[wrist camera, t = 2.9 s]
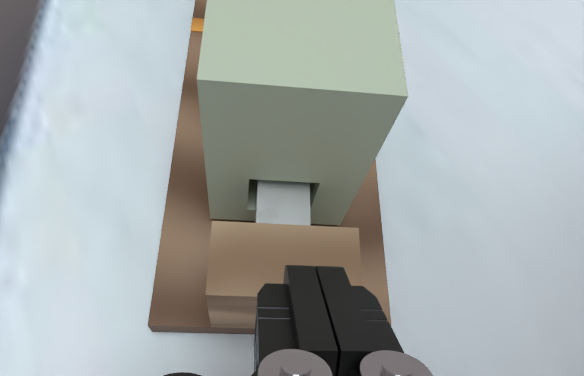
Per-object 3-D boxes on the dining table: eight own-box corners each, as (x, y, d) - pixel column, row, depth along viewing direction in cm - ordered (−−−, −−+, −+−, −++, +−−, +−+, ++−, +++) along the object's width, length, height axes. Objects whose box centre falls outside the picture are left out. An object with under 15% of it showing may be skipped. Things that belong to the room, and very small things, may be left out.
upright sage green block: (217, 139, 27) (210, -25, 17) (336, 147, 27) (393, -6, 18) (210, 218, 24) (196, 79, 15) (340, 225, 25) (408, 96, 15)
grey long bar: (266, -50, 32) (268, -85, 30) (301, -46, 33) (306, -80, 31) (251, 264, 22) (253, 245, 20) (304, 266, 22) (312, 248, 20)
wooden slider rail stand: (203, -33, 36) (197, -136, 30) (352, -18, 38) (378, -113, 31) (152, 331, 23) (121, 292, 17) (383, 337, 25) (438, 302, 18)
